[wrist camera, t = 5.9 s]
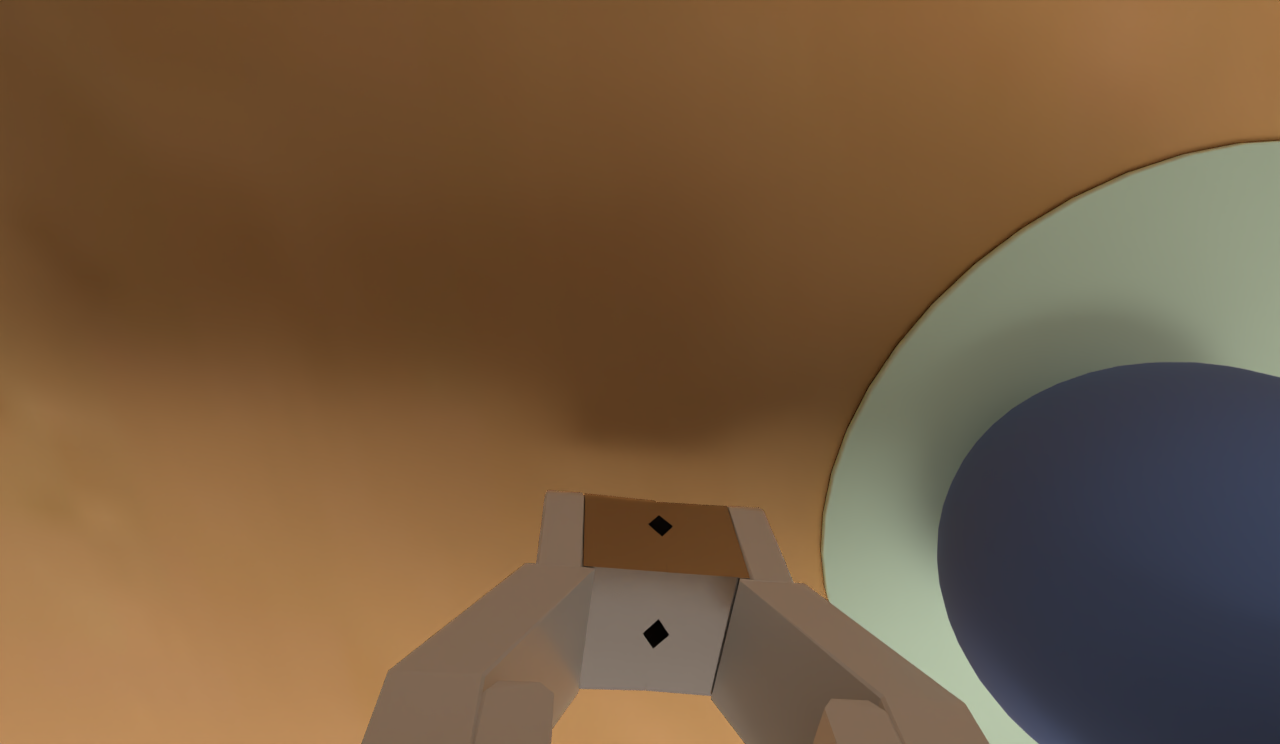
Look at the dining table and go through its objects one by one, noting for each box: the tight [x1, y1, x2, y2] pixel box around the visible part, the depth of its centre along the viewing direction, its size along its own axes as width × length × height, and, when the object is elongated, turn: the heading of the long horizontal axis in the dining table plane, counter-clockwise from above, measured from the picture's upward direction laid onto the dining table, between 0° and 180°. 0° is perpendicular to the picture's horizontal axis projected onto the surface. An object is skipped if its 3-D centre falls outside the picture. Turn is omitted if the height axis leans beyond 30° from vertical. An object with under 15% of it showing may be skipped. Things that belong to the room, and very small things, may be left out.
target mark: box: [821, 141, 1280, 744], centre depth 13 cm, size 13×13×1 cm
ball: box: [937, 362, 1280, 744], centre depth 9 cm, size 6×6×6 cm
